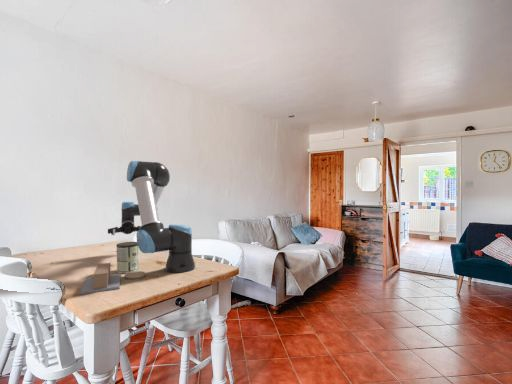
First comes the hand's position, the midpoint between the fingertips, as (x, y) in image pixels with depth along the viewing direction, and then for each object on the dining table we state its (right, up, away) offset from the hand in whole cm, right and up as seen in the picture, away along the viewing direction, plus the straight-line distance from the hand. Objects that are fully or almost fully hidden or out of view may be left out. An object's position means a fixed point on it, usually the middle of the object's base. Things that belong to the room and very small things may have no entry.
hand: (127, 232), depth 148 cm
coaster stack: (+13, -19, -20) cm, 30 cm away
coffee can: (+4, -19, -9) cm, 21 cm away
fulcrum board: (+3, -19, -30) cm, 35 cm away
